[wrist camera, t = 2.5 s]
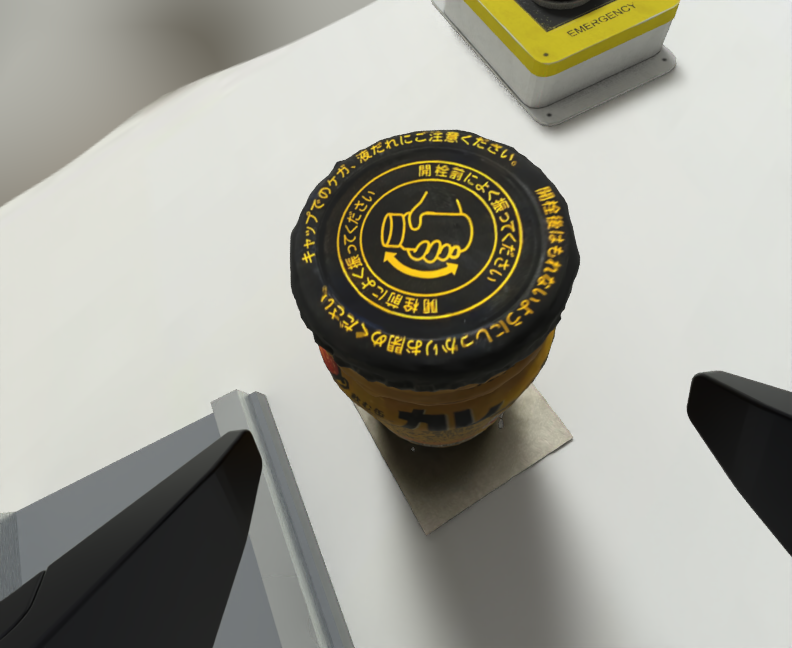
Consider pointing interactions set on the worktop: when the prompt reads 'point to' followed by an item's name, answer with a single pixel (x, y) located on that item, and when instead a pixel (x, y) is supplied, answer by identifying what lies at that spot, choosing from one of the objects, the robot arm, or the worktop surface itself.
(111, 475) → the mounting plate
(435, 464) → the condiment
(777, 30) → the worktop surface
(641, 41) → the emergency button
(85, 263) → the worktop surface
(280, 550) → the guide rails
